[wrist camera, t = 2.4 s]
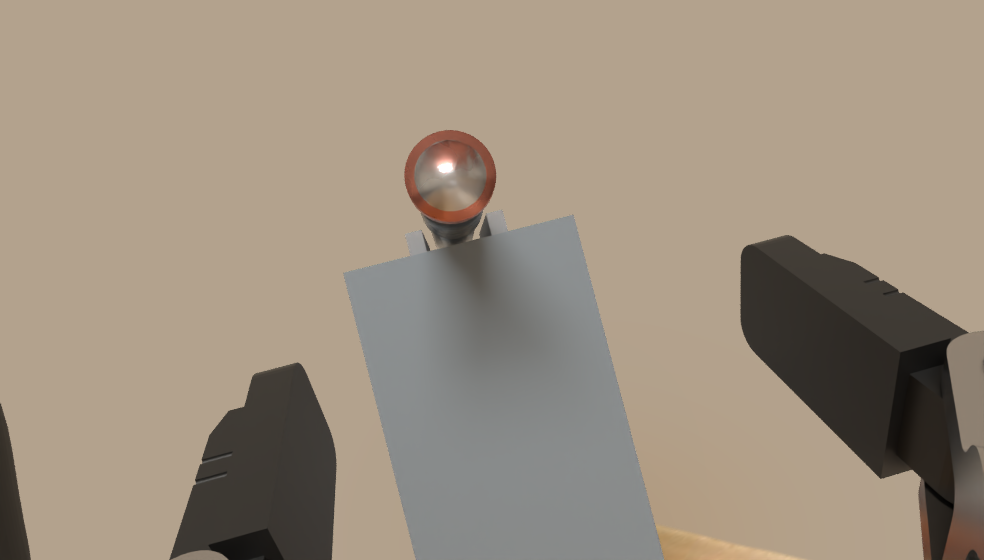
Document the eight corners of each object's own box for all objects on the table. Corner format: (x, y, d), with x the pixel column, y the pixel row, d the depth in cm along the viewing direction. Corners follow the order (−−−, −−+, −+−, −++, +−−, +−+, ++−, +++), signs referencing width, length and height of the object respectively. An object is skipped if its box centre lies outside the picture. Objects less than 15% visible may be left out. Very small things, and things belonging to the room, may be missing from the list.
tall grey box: (712, 743, 37) (567, 192, 37) (480, 816, 36) (337, 249, 37) (649, 635, 49) (540, 219, 49) (474, 687, 48) (366, 263, 48)
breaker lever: (506, 208, 26) (483, 121, 26) (417, 230, 26) (394, 142, 26) (481, 256, 51) (469, 211, 51) (436, 267, 51) (424, 222, 51)
